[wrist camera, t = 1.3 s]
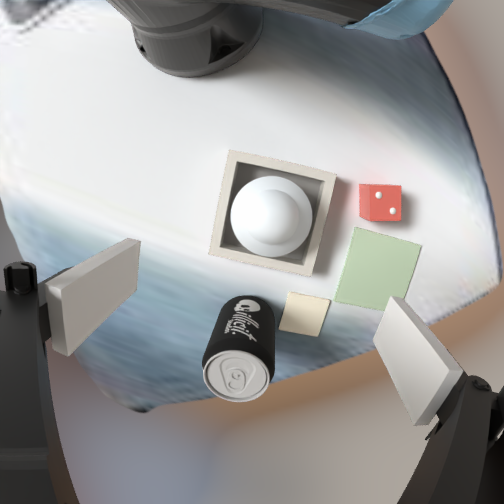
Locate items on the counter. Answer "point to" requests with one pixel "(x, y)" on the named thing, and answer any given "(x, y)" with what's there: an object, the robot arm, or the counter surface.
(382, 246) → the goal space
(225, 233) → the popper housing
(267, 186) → the dome
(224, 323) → the beverage can
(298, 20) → the counter surface
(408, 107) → the counter surface
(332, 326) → the counter surface
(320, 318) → the track space
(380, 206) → the red die
